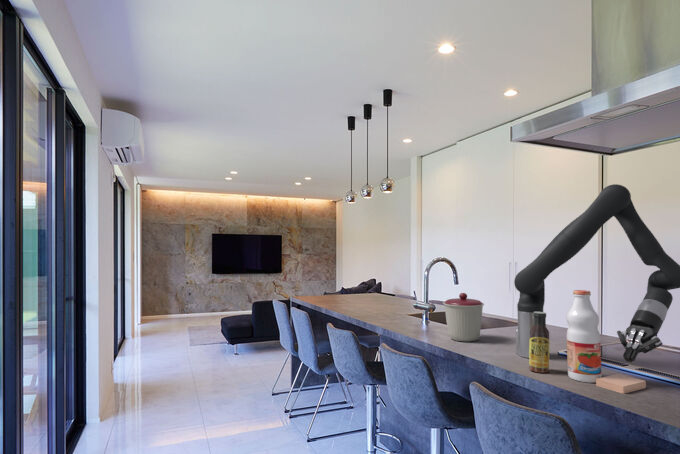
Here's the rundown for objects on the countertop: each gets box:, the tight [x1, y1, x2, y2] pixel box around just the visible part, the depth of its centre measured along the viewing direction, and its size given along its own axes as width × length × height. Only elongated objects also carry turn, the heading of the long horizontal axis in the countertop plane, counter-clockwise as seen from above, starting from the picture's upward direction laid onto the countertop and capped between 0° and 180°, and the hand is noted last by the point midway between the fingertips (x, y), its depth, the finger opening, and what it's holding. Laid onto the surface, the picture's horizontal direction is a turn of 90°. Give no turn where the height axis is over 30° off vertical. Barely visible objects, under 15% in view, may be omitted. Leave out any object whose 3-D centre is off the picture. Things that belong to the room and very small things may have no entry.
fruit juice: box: [566, 289, 602, 384], centre depth 136 cm, size 9×9×28 cm
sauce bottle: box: [528, 311, 550, 374], centre depth 144 cm, size 7×6×20 cm
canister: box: [442, 292, 485, 343], centre depth 193 cm, size 18×18×21 cm
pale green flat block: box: [595, 373, 647, 395], centre depth 128 cm, size 8×2×11 cm
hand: (627, 360), depth 130 cm, fingers closed
